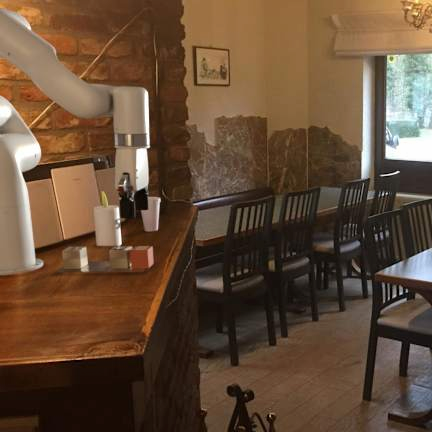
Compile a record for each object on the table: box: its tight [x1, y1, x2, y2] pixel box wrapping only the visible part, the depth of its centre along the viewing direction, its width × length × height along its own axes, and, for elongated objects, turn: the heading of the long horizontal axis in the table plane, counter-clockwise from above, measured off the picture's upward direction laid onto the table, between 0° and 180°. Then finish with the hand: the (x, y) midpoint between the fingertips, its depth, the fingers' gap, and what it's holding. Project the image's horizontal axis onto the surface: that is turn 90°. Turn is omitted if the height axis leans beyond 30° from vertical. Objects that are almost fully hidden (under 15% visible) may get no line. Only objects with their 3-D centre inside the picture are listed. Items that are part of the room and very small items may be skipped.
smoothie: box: [140, 185, 162, 232], centre depth 188 cm, size 6×6×14 cm
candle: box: [92, 190, 122, 247], centre depth 170 cm, size 6×6×15 cm
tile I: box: [61, 246, 89, 269], centre depth 149 cm, size 4×4×4 cm
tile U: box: [108, 245, 133, 269], centre depth 149 cm, size 4×4×4 cm
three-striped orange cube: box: [130, 245, 154, 269], centre depth 150 cm, size 4×4×4 cm
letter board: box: [56, 260, 147, 273], centre depth 150 cm, size 20×9×1 cm, turn 94°
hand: (134, 213), depth 148 cm, fingers open, 9 cm apart
